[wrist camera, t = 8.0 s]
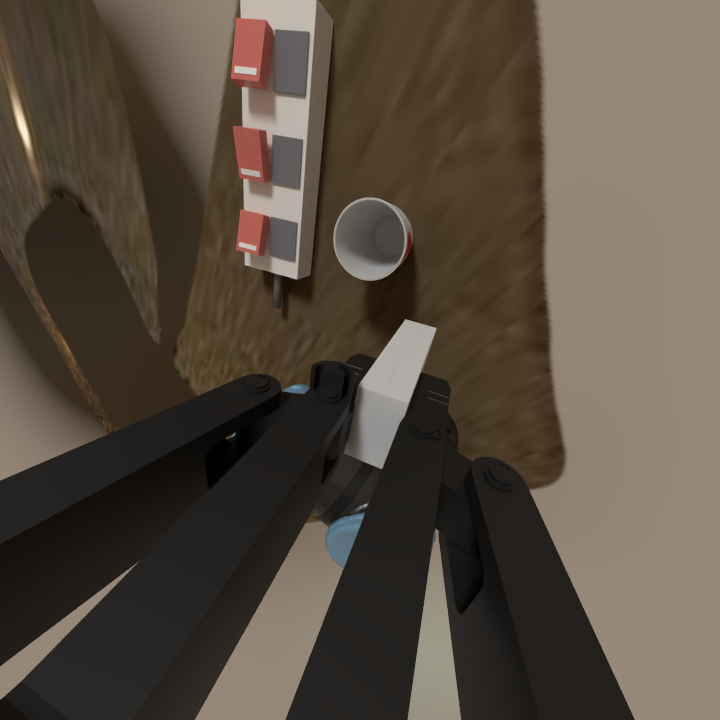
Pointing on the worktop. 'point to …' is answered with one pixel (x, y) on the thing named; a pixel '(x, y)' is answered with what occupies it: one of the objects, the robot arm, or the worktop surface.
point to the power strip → (289, 132)
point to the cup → (372, 238)
